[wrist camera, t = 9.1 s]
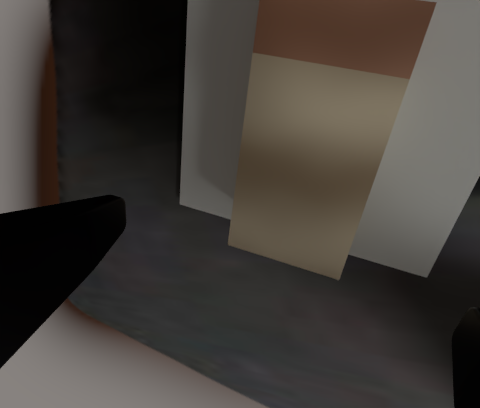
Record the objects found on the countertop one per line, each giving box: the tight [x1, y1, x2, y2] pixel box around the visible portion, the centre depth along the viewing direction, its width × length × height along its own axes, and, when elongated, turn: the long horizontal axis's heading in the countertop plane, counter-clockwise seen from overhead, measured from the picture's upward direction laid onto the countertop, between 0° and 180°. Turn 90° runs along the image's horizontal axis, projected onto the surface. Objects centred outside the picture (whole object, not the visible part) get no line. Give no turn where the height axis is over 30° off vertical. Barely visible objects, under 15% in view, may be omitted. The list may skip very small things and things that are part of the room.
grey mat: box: [180, 0, 480, 278], centre depth 18 cm, size 16×14×1 cm
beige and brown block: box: [228, 0, 437, 280], centre depth 16 cm, size 12×6×4 cm, turn 172°
